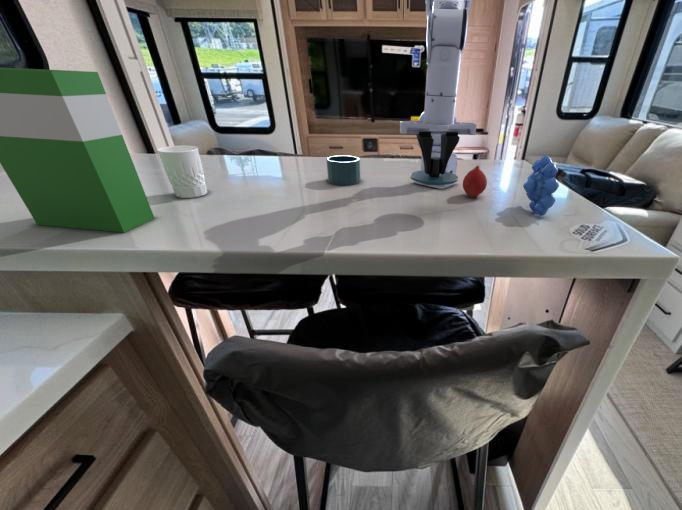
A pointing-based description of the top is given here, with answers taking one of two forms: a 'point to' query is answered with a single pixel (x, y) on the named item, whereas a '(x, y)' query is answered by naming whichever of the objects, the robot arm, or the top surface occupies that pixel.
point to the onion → (474, 182)
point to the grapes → (542, 185)
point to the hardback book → (68, 151)
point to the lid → (434, 175)
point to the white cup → (184, 170)
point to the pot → (343, 170)
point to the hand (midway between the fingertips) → (434, 173)
